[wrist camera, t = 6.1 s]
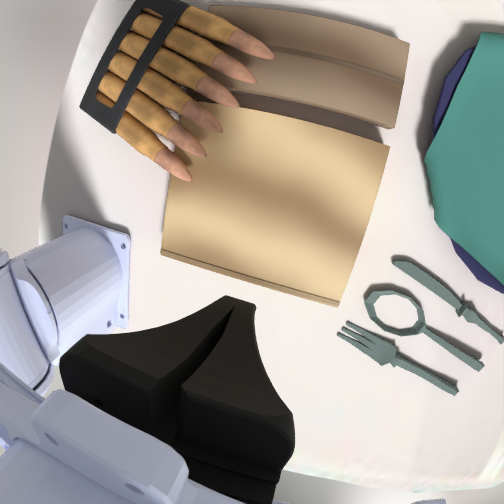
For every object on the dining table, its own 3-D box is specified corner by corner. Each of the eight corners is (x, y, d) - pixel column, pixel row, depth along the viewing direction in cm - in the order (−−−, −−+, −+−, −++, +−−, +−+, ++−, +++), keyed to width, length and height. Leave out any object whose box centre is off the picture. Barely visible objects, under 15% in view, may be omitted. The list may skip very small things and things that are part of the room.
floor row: (388, 129, 17) (394, 127, 15) (197, 86, 18) (188, 82, 17) (403, 50, 14) (409, 43, 13) (217, 13, 16) (209, 4, 14)
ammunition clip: (144, -13, 14) (279, 40, 12) (159, -5, 15) (288, 50, 14) (78, 107, 18) (176, 194, 17) (95, 108, 20) (192, 190, 19)
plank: (336, 297, 21) (337, 308, 20) (169, 248, 23) (160, 255, 21) (384, 146, 17) (390, 146, 15) (193, 102, 18) (184, 99, 17)
